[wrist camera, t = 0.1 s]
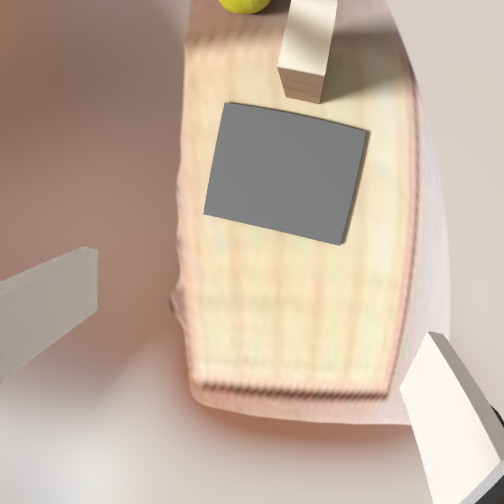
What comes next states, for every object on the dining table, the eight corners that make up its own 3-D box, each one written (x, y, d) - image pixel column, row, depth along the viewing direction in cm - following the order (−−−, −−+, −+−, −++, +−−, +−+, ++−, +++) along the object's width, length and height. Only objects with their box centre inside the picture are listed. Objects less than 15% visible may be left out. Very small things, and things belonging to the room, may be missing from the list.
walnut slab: (297, 40, 32) (293, -7, 21) (329, 46, 32) (337, 0, 20) (286, 97, 34) (277, 65, 23) (319, 104, 34) (325, 75, 22)
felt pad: (225, 103, 36) (224, 102, 35) (365, 132, 34) (366, 131, 33) (204, 213, 39) (203, 214, 39) (339, 244, 38) (340, 245, 37)
